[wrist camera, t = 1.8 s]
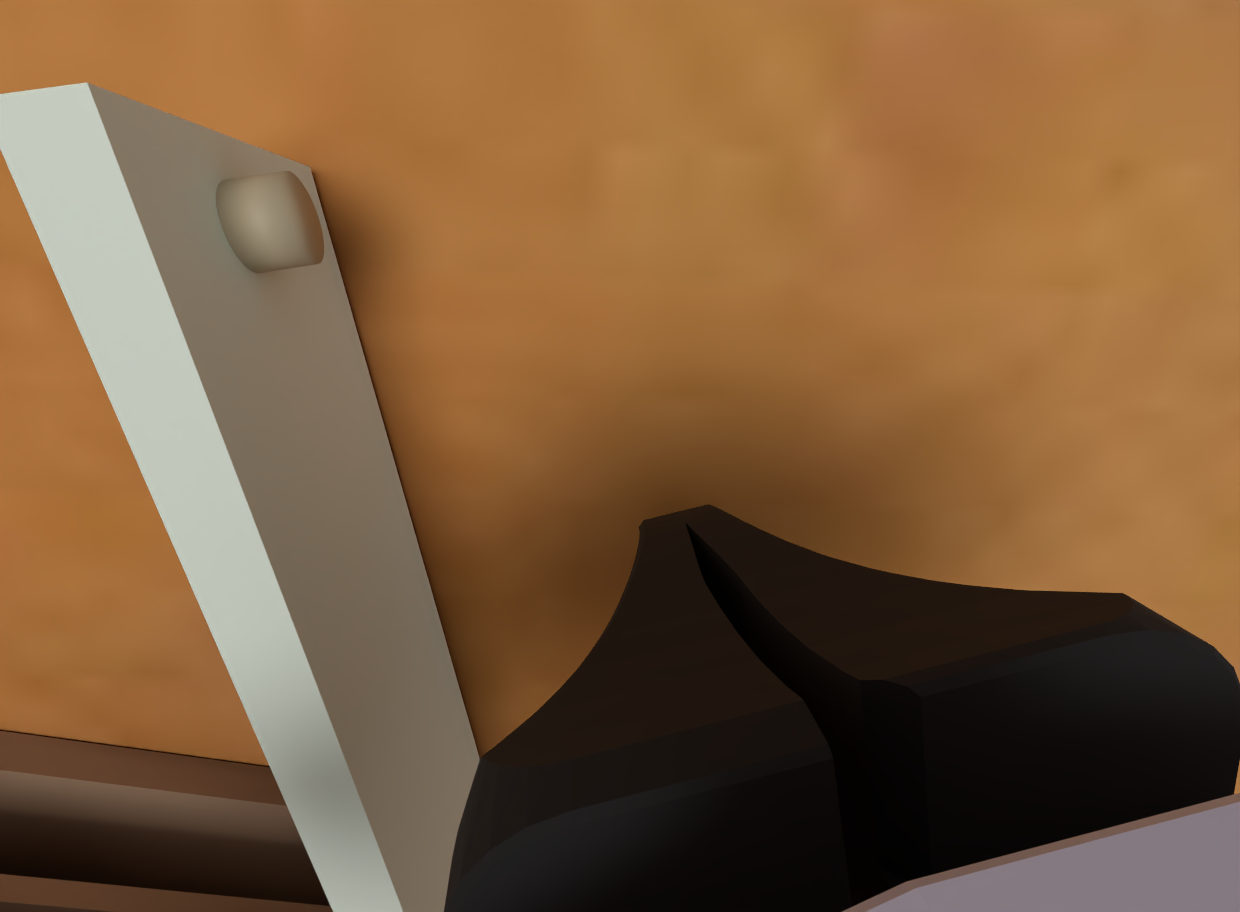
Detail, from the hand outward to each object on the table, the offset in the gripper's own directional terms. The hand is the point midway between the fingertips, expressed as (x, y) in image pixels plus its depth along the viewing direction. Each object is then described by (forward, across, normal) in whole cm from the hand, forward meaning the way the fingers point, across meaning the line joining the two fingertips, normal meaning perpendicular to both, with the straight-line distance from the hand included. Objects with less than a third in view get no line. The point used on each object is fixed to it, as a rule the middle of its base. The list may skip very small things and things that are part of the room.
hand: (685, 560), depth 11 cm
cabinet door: (+3, +6, -1) cm, 6 cm away
